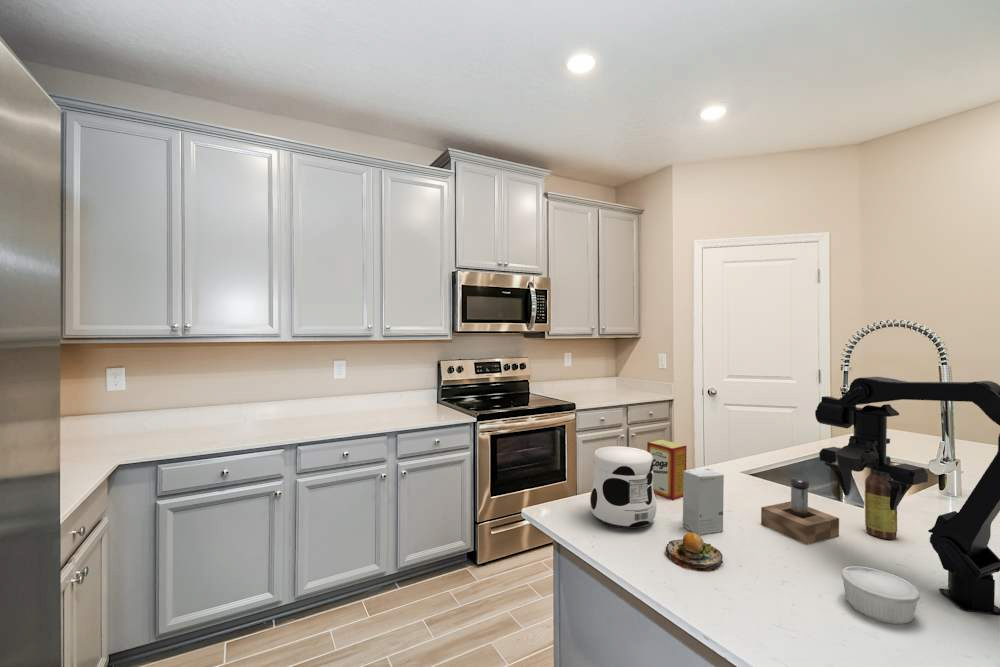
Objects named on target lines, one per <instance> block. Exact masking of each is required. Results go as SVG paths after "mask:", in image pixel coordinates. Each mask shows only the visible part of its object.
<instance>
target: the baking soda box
mask: <svg viewBox="0 0 1000 667" xmlns="http://www.w3.org/2000/svg"><path fill="white" fill-rule="evenodd" d="M646 448H647V449H646V451H647V452H649V453H650V454H651V455H652V457H653V491H654V495H657V496H659V497H662V498H666V499H668V500H670V501H676V500H678V499H683V471H685V470H687V445H684V444H683V443H679V442H674V441H669V440H665V439H656V440H651V441H650V440H649V441H647V446H646Z"/></svg>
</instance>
